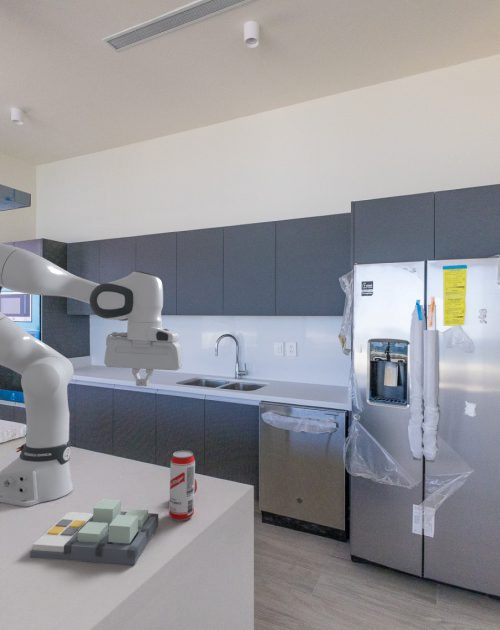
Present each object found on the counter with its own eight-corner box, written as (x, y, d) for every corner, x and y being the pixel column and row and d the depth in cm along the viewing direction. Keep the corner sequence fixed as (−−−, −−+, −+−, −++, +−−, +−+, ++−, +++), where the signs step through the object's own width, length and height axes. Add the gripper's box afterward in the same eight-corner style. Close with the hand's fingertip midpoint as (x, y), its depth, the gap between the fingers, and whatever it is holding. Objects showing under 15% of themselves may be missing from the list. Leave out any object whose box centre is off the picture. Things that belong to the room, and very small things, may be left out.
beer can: (182, 525, 96) (184, 459, 96) (163, 517, 99) (165, 454, 99) (198, 514, 101) (200, 452, 101) (180, 508, 104) (182, 448, 105)
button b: (93, 523, 90) (93, 508, 90) (102, 513, 94) (102, 498, 94) (112, 524, 89) (112, 509, 89) (120, 514, 94) (121, 500, 94)
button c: (108, 542, 82) (108, 525, 82) (117, 530, 87) (118, 514, 87) (129, 543, 82) (130, 526, 82) (137, 531, 87) (138, 515, 87)
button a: (77, 549, 83) (77, 532, 83) (88, 537, 87) (88, 521, 88) (98, 550, 83) (98, 534, 83) (107, 538, 87) (108, 522, 87)
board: (29, 557, 82) (30, 542, 82) (69, 520, 97) (69, 508, 97) (134, 565, 80) (135, 550, 80) (158, 526, 95) (158, 513, 95)
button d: (121, 533, 89) (121, 518, 89) (129, 523, 94) (129, 508, 94) (141, 535, 89) (141, 519, 89) (147, 524, 93) (148, 510, 93)
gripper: (101, 332, 101) (98, 385, 101) (178, 335, 99) (176, 390, 99) (111, 331, 107) (109, 381, 107) (184, 334, 105) (182, 385, 105)
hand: (142, 385), depth 103 cm, fingers closed
